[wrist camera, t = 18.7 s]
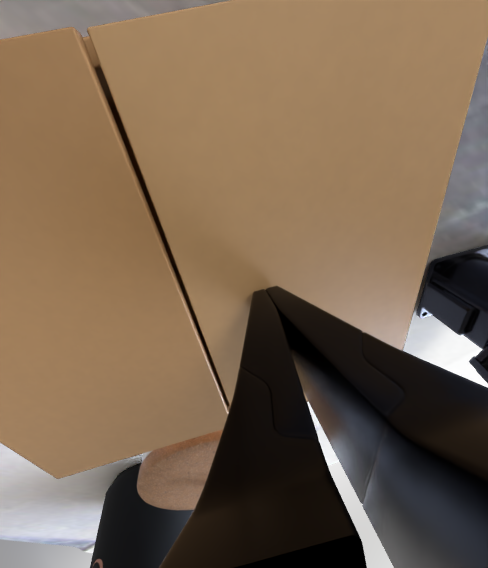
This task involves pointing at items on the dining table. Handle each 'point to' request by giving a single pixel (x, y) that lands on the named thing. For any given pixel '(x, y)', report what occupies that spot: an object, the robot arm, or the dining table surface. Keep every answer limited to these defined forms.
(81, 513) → the dining table surface
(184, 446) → the trinket box
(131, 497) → the coffee jar
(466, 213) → the dining table surface
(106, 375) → the carton
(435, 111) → the flap
